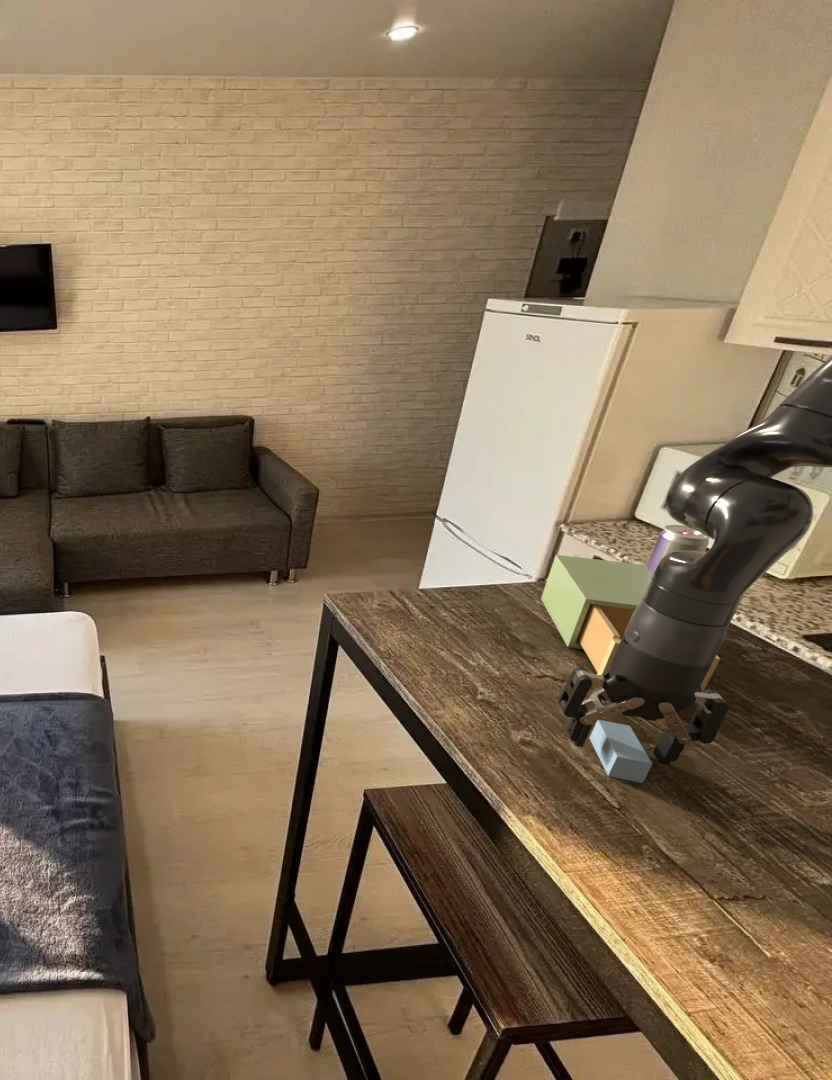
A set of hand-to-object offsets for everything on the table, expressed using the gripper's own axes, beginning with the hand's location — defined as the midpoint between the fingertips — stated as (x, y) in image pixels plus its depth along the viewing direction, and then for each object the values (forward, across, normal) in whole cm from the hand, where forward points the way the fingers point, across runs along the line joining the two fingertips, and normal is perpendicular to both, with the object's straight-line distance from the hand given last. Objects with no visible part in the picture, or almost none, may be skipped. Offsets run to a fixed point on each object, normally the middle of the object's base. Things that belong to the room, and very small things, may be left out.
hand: (617, 750), depth 71 cm
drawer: (0, -8, -19) cm, 21 cm away
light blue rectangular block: (+2, 0, 0) cm, 2 cm away
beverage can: (+2, -19, -43) cm, 47 cm away
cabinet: (+1, -8, -33) cm, 34 cm away
